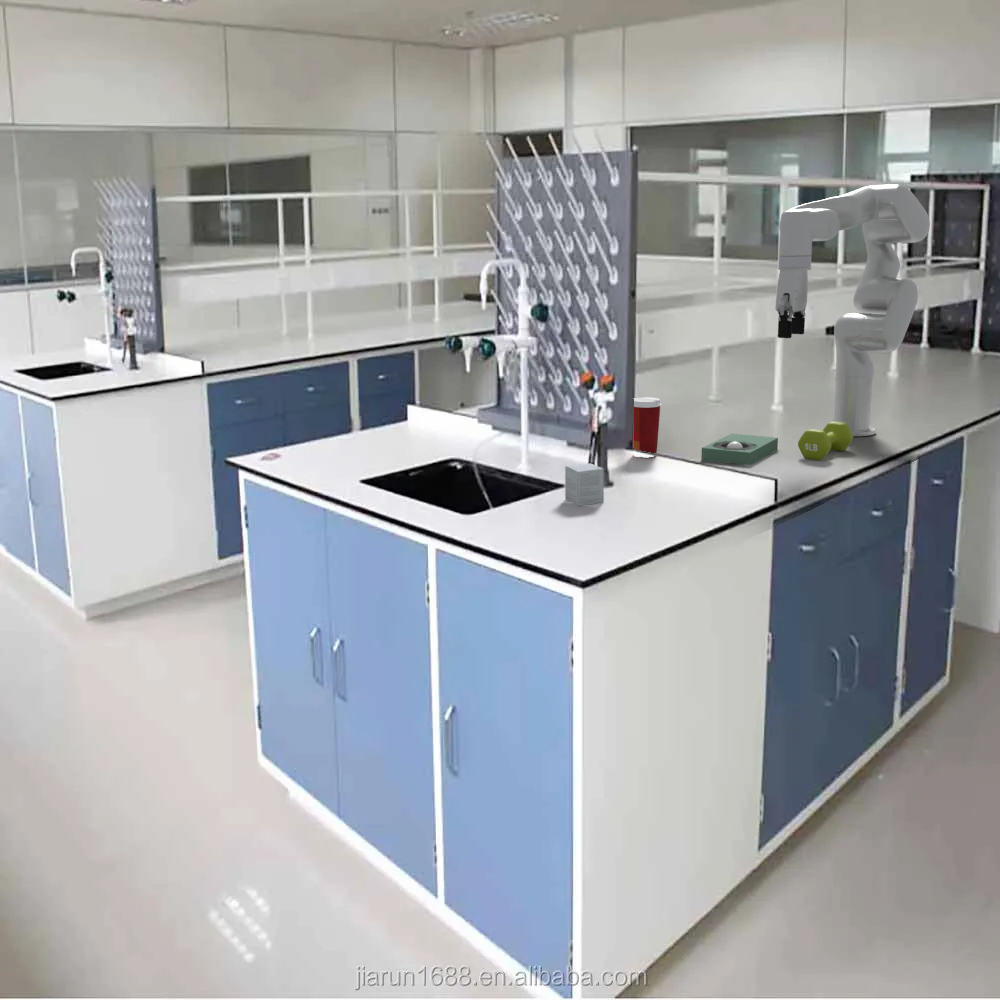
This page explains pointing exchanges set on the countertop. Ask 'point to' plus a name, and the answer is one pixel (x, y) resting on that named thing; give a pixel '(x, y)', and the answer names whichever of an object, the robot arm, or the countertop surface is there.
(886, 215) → the robot arm
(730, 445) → the ball
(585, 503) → the product box
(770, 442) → the putting mat
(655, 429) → the paper cup
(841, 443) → the dumbbell
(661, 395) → the countertop surface
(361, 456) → the countertop surface
